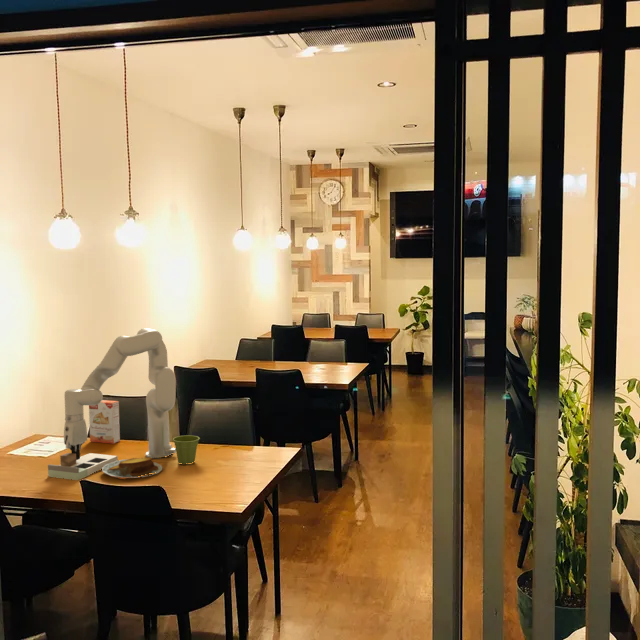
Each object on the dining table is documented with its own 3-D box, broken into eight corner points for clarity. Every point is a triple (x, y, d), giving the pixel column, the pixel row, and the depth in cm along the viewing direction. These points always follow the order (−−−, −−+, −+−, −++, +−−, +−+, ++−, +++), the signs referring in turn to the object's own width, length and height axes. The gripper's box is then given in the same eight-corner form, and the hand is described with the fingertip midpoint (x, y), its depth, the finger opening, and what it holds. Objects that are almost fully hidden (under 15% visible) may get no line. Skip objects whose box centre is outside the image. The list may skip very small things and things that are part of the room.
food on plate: (132, 461, 300) (131, 447, 300) (174, 469, 288) (174, 454, 288) (88, 477, 278) (87, 462, 277) (132, 486, 266) (132, 470, 266)
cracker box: (89, 442, 334) (88, 401, 332) (96, 439, 339) (95, 399, 338) (113, 444, 330) (112, 402, 328) (120, 441, 335) (119, 400, 334)
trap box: (117, 462, 298) (117, 451, 298) (77, 480, 273) (77, 468, 273) (90, 459, 303) (89, 448, 303) (48, 476, 278) (47, 465, 278)
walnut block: (76, 463, 286) (76, 453, 286) (69, 466, 282) (68, 456, 281) (68, 462, 287) (67, 452, 287) (60, 465, 283) (60, 455, 283)
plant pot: (197, 466, 291) (197, 441, 290) (170, 467, 291) (170, 441, 290) (202, 459, 303) (201, 435, 302) (176, 459, 303) (175, 435, 302)
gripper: (69, 422, 279) (70, 464, 280) (93, 414, 293) (94, 455, 294) (55, 420, 282) (56, 463, 283) (79, 413, 296) (80, 453, 297)
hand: (75, 459), depth 289 cm, fingers closed
